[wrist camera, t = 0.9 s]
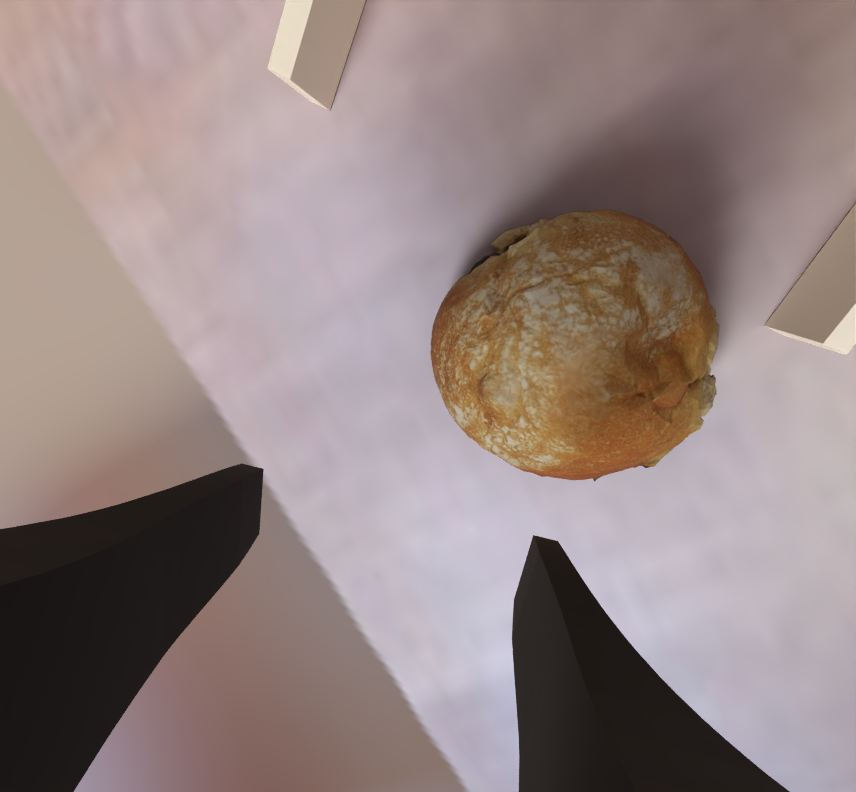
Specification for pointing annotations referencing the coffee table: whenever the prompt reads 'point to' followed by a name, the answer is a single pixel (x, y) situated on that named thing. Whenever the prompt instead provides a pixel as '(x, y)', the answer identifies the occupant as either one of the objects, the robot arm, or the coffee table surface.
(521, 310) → the bread roll
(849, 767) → the coffee table surface
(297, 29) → the cream low open frame
